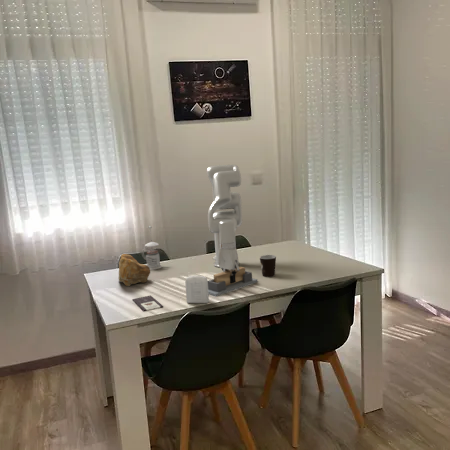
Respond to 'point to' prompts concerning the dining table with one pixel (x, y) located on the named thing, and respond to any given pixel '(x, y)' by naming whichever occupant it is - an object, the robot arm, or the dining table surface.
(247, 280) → the endcap board
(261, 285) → the dining table surface
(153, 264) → the french press
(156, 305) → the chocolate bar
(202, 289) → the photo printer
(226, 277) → the slat
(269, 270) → the coffee mug
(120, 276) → the rough brown rock
